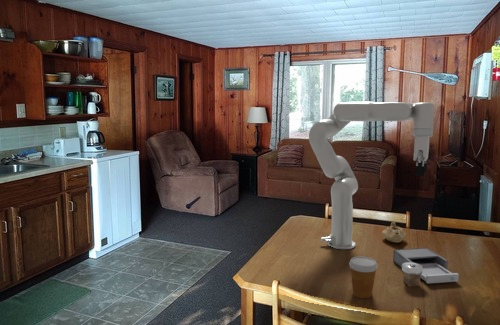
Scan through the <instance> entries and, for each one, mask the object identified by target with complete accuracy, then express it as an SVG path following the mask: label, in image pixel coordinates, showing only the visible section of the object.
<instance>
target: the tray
mask: <svg viewBox="0 0 500 325" xmlns="http://www.w3.org/2000/svg"><path fill="white" fill-rule="evenodd" d="M420 265H421V266H422V267H423V273H422V274H420V279H422V280H423V281H424V282H425V283H426V284H441V283H442V284H443V283H454V282H459V277H460V276H459V275H460V274H459V273H458V272H451V271H450V270H448V268H447V269H445V268H444V267H442V266H441V265H439V264H438V263H426V264H420Z"/></svg>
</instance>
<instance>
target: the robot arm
mask: <svg viewBox="0 0 500 325" xmlns="http://www.w3.org/2000/svg"><path fill="white" fill-rule="evenodd" d="M434 113H435V105H434V103H432V102H416V103H415V102H406V101H402V102H375V101H346V102H345V101H342V102H341V101H340V102H339V103H337V104H336V105H334V107H333V112H332V114H331V115H330V116H329V117H327V119H320V120H318V121H316V122H315V123H314V124H313V125H312V126H311V128H310V129H309V133H308V141H309V144H310V147H311V149H312V151H313V153H314V156H316V159H317V161H318V164H319V165H320V168H321V170H322V171H323V173H324V175H325V176H326V177H327V178H330V179H334V180H335V181H334V182H333V184H332V185H331V188H330V198H331V200H330V201H331V229H330V230H331V233H330V234H329V236H323V237H320V241H321V242H325V243H327V245H328V246H329V247H330V246H331V248H332V247H333V249H336V250H337V249H338V250H352V249H353V248H355V247H356V242H355V241H353V224H354V223H353V222H354V221H353V212H354V211H353V210H354V207H353V206H354V205H353V195H355V193H357V191H358V189H359V183H358V180H357V178H356V176H355V173H354V171H353V170H352V168H351V166H350V163H349V162H348V160H346V159H345V157H343V156H341V155H337V154H336V152H335V150H334V148H333V146H332V145H331V143H330V142H329V140H328V138H331V137H334V136H336V135H337V134H338V133H340V132H341V131H342V130H343V129H344V128H345V127H346V126H348V124H350V122H404V121H408V120H409V121H410V120H412V122H413V123H412V128H413V129H412V137H414V146H413V159H412V160H413V161H414V162H415V161H416V164H415V176H416V177H424V176H425V173H427V169H428V168H427V167H428V165H427V164H428V163H427V160H428V159H429V154H430V153H429V152H430V151H429V150H430V138H432V137H433V135H434V120H435V119H434V118H435V117H434V116H435V114H434Z"/></svg>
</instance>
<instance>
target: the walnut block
mask: <svg viewBox="0 0 500 325" xmlns="http://www.w3.org/2000/svg"><path fill="white" fill-rule="evenodd" d="M403 283H404V284H406V285H407V286H408V287H420V283H421V277H420V275H412V274H407V273H405V272H403Z"/></svg>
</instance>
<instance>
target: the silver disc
mask: <svg viewBox="0 0 500 325" xmlns="http://www.w3.org/2000/svg"><path fill="white" fill-rule="evenodd" d="M401 270H402V272H403V273H404V272H405V273H407V274H412V275H420V274H422V273H423V267H422V266H421V265H420V264H417V263H412V262H406V263H403V264H402V268H401Z"/></svg>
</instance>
